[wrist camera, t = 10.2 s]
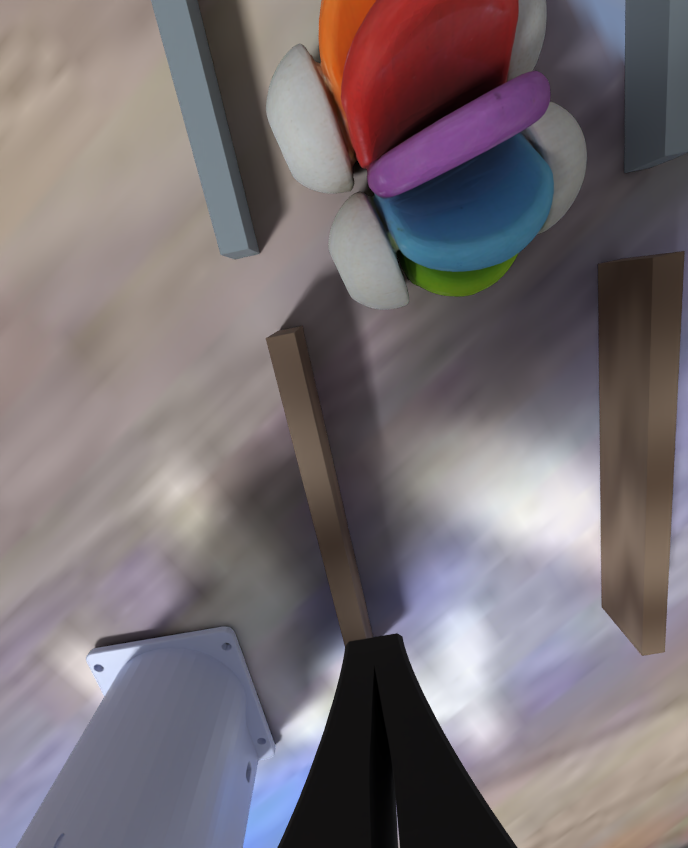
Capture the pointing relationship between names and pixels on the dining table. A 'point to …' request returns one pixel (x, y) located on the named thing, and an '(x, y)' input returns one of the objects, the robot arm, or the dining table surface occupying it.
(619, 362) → the lane rails
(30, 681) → the dining table surface
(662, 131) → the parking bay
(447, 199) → the multicolored rounded disc cluster
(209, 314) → the dining table surface
